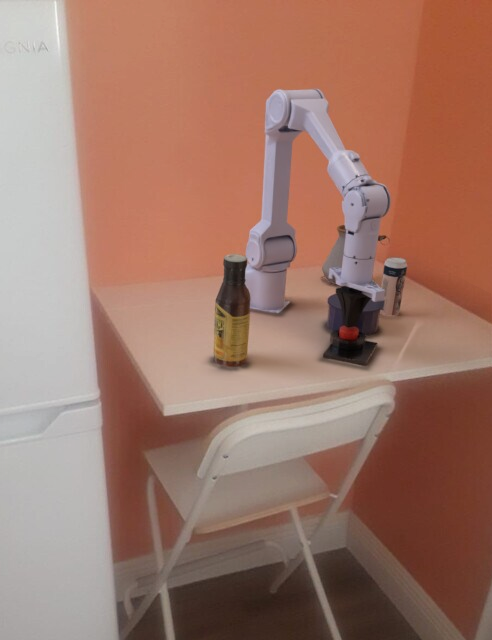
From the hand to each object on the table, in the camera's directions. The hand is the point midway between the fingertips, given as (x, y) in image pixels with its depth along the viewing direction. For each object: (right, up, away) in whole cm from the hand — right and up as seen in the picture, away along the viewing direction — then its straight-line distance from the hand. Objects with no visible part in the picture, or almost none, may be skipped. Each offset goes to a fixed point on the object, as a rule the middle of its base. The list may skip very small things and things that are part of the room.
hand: (349, 325), depth 133 cm
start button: (0, -2, +1) cm, 2 cm away
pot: (+3, +1, +12) cm, 12 cm away
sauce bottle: (-23, -8, -4) cm, 24 cm away
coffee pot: (+8, +14, +35) cm, 38 cm away
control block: (0, -5, 0) cm, 5 cm away
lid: (+3, +6, +9) cm, 11 cm away
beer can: (+12, +5, +20) cm, 24 cm away
